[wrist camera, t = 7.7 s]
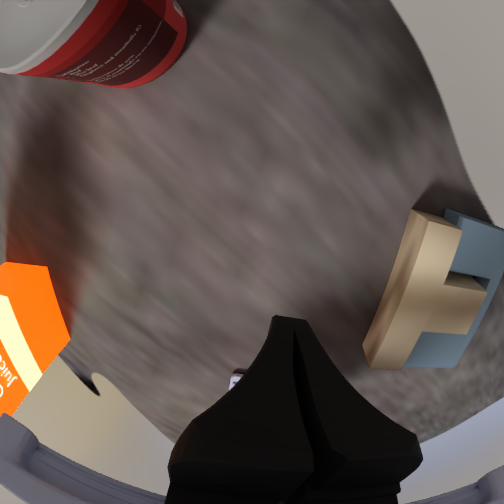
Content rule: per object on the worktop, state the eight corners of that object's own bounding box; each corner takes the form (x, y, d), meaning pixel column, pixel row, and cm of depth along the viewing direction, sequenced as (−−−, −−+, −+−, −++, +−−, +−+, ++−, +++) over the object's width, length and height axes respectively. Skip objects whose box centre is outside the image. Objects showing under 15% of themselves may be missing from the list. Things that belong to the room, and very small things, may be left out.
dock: (446, 354, 23) (454, 367, 21) (389, 352, 23) (395, 367, 21) (502, 228, 18) (516, 236, 16) (445, 208, 18) (459, 216, 16)
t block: (434, 349, 23) (445, 370, 20) (362, 344, 23) (369, 368, 20) (485, 231, 18) (506, 244, 15) (410, 208, 18) (428, 220, 15)
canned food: (115, -4, 13) (24, -56, 3) (209, 3, 14) (148, -89, 4) (79, 82, 16) (-35, 74, 6) (167, 100, 17) (57, 77, 7)
